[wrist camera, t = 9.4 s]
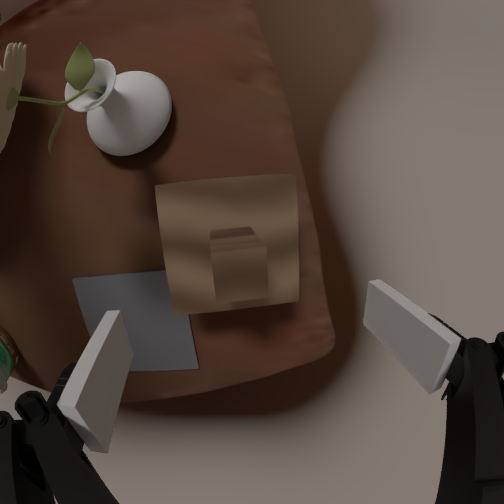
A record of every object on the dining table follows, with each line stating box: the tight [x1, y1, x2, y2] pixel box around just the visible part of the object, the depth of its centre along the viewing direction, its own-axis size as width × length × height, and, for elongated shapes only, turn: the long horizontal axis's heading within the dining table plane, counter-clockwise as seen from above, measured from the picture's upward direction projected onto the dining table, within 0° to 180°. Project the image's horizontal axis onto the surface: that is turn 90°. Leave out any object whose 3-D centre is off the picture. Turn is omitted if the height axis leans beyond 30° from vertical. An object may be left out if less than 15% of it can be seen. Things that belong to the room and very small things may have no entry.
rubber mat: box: [72, 270, 199, 371], centre depth 37 cm, size 17×17×1 cm
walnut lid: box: [155, 174, 299, 316], centre depth 24 cm, size 14×14×9 cm
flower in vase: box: [0, 42, 172, 156], centre depth 17 cm, size 13×11×25 cm
